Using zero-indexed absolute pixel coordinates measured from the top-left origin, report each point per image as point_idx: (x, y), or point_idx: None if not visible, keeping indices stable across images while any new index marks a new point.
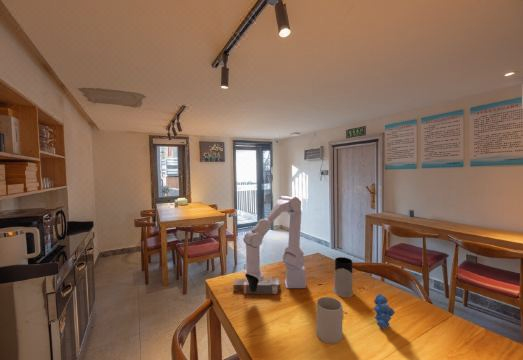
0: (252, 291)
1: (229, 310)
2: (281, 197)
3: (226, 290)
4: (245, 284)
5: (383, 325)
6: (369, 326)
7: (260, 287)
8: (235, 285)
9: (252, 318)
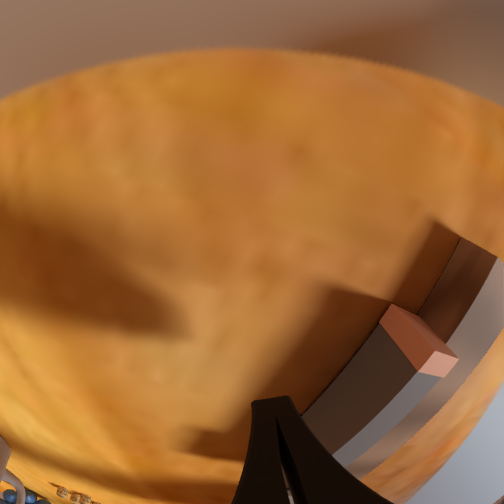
0: (252, 410)
1: (199, 87)
2: None
3: (488, 193)
4: (427, 365)
5: (4, 492)
6: (30, 485)
7: (328, 438)
8: (485, 272)
9: (28, 255)
